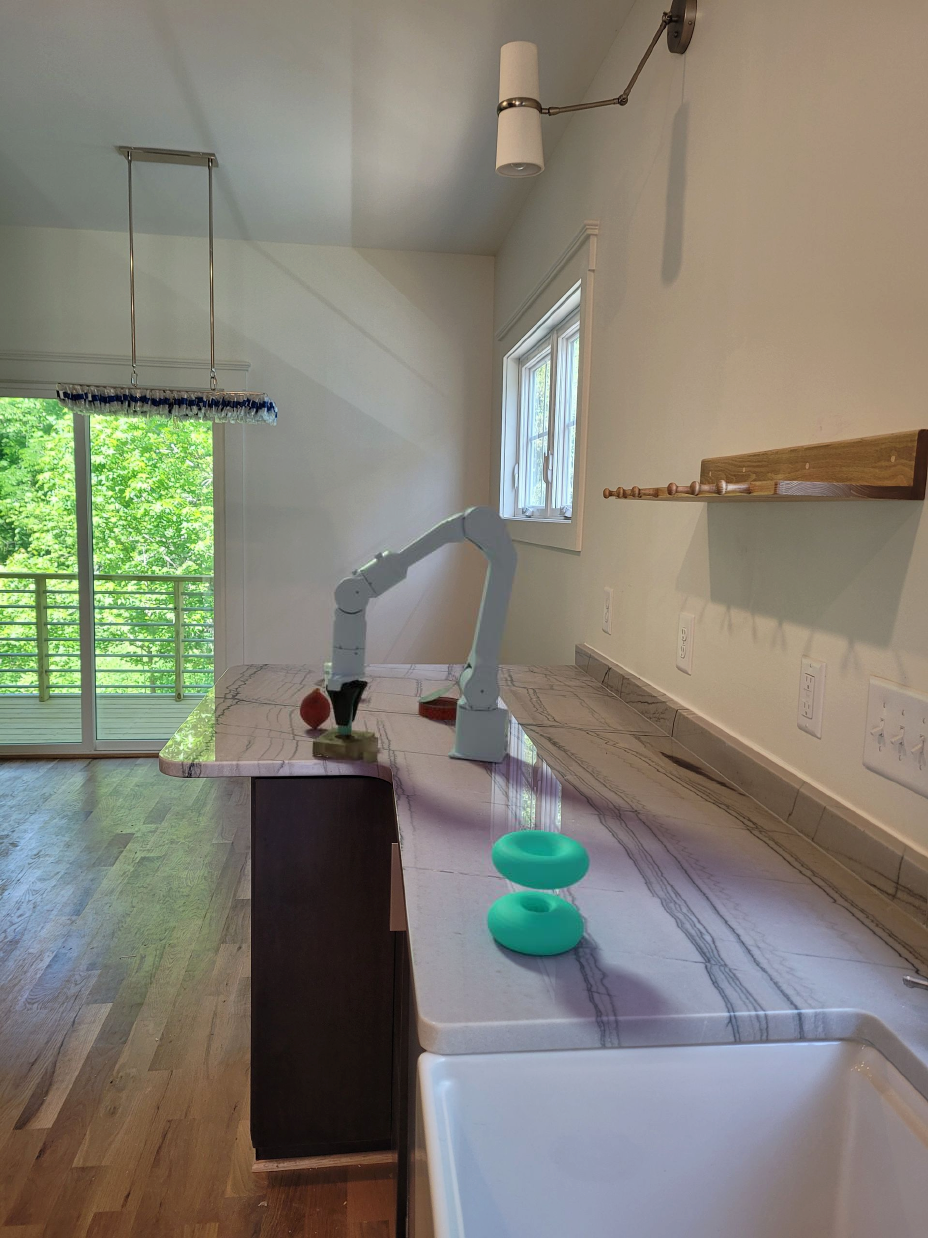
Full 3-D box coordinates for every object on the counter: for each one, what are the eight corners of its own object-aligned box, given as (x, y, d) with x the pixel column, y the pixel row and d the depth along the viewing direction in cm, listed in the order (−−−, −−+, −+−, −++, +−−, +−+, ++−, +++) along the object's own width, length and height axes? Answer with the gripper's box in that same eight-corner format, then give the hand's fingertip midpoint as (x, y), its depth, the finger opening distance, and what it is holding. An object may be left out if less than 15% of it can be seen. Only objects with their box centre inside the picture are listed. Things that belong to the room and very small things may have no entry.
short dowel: (378, 759, 149) (380, 737, 149) (374, 763, 147) (376, 740, 147) (365, 758, 150) (366, 735, 149) (361, 762, 148) (362, 738, 147)
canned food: (443, 743, 180) (431, 704, 176) (413, 727, 188) (401, 689, 183) (482, 713, 186) (472, 675, 181) (452, 699, 193) (441, 662, 188)
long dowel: (353, 732, 154) (354, 696, 153) (349, 735, 152) (351, 698, 151) (339, 730, 154) (341, 694, 154) (335, 733, 152) (337, 697, 151)
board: (374, 746, 158) (374, 732, 157) (357, 761, 148) (357, 746, 148) (331, 741, 159) (332, 727, 159) (312, 755, 149) (312, 741, 149)
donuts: (599, 865, 85) (497, 861, 84) (591, 962, 86) (490, 959, 85) (580, 828, 95) (488, 824, 94) (573, 915, 96) (482, 912, 95)
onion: (323, 734, 164) (325, 692, 163) (294, 730, 165) (295, 689, 164) (333, 726, 169) (335, 686, 168) (305, 723, 170) (307, 683, 169)
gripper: (340, 639, 159) (337, 712, 161) (311, 650, 145) (308, 730, 147) (377, 642, 158) (373, 716, 159) (352, 654, 144) (348, 735, 145)
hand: (345, 723), depth 153 cm, fingers closed on long dowel, 2 cm apart
